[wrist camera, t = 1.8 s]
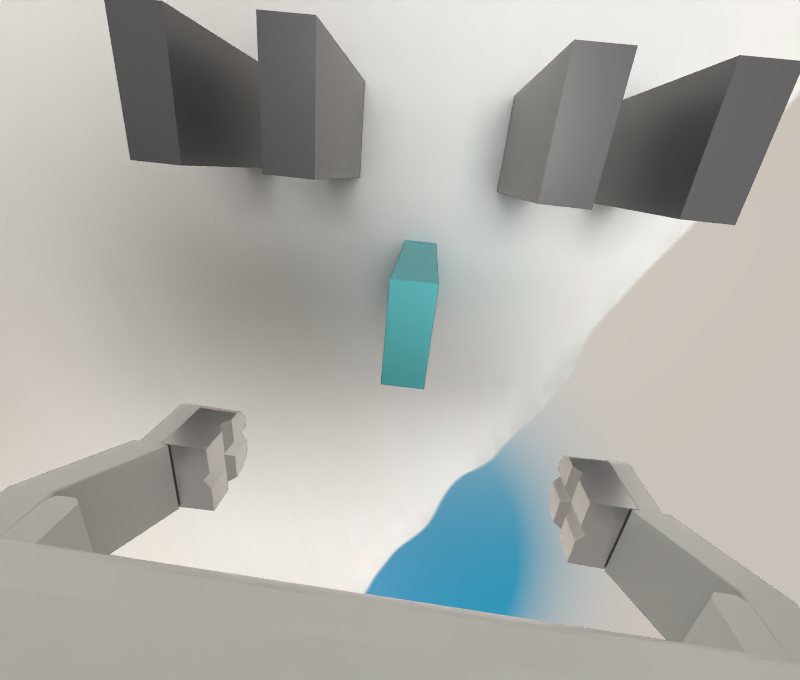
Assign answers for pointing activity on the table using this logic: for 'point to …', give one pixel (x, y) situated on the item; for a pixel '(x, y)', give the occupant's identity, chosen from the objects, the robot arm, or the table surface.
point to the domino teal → (410, 315)
